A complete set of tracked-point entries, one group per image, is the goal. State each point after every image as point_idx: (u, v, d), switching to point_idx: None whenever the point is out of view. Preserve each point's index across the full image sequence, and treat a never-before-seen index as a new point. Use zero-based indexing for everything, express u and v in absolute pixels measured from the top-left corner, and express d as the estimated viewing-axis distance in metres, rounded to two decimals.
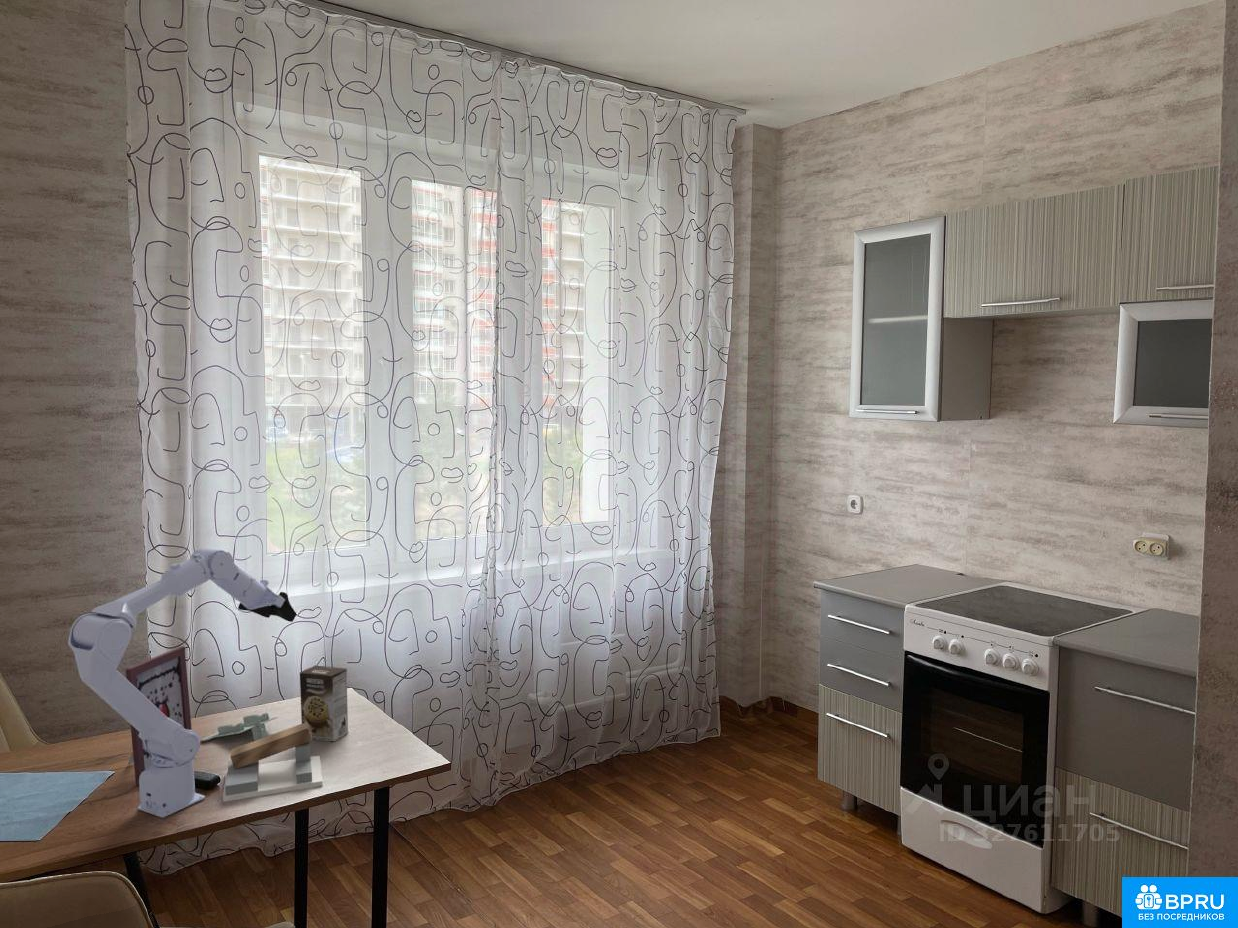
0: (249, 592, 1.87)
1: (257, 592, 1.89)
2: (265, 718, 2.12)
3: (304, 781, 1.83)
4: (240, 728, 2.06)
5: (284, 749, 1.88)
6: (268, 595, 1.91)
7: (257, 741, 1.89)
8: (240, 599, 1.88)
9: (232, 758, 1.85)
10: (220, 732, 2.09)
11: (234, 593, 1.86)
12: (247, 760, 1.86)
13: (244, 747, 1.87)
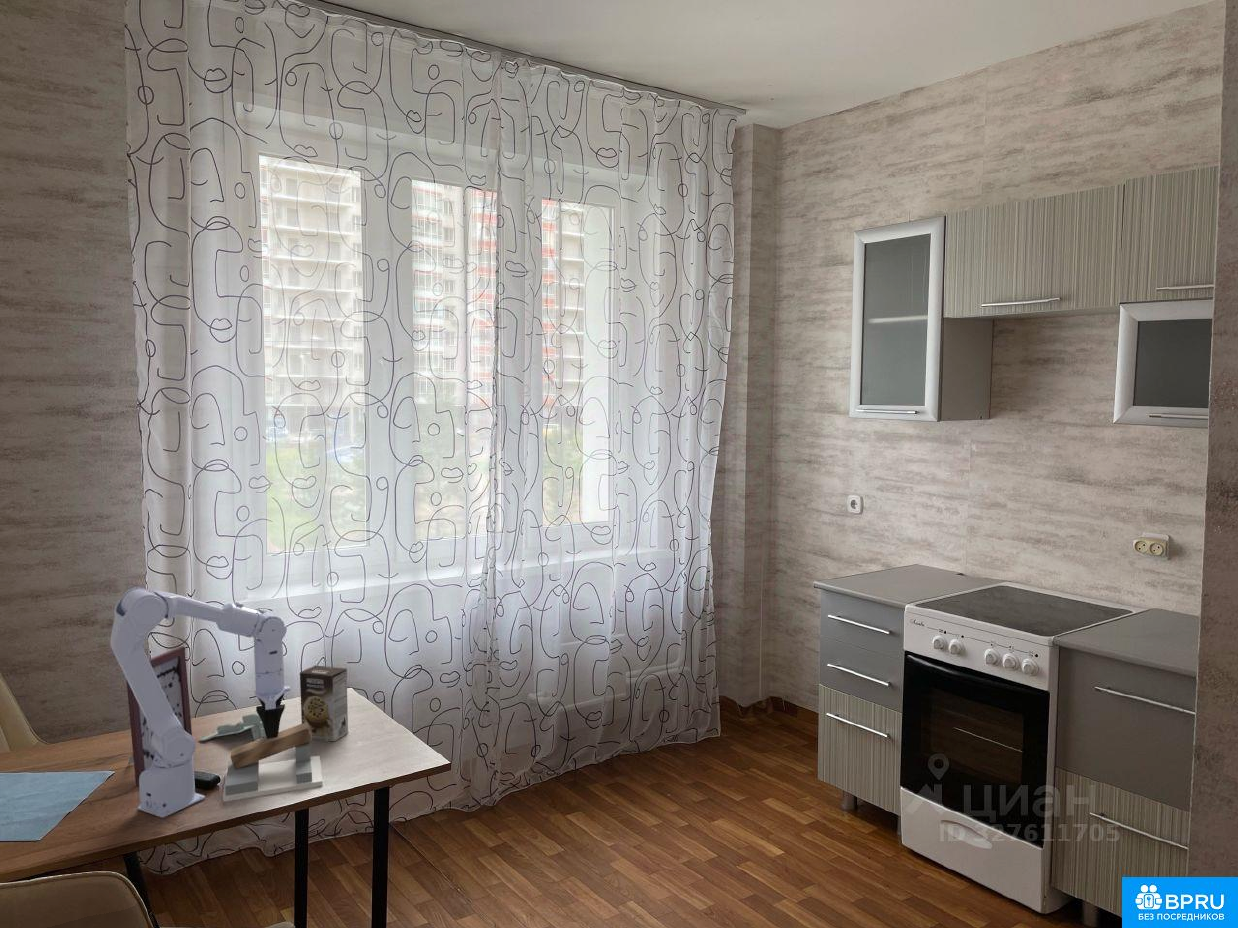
0: (264, 677, 1.85)
1: (269, 684, 1.86)
2: None
3: (304, 781, 1.83)
4: (240, 727, 2.06)
5: (284, 749, 1.88)
6: (273, 696, 1.85)
7: (257, 741, 1.89)
8: (255, 677, 1.86)
9: (232, 758, 1.85)
10: (219, 732, 2.10)
11: (258, 667, 1.85)
12: (247, 760, 1.86)
13: (244, 747, 1.87)
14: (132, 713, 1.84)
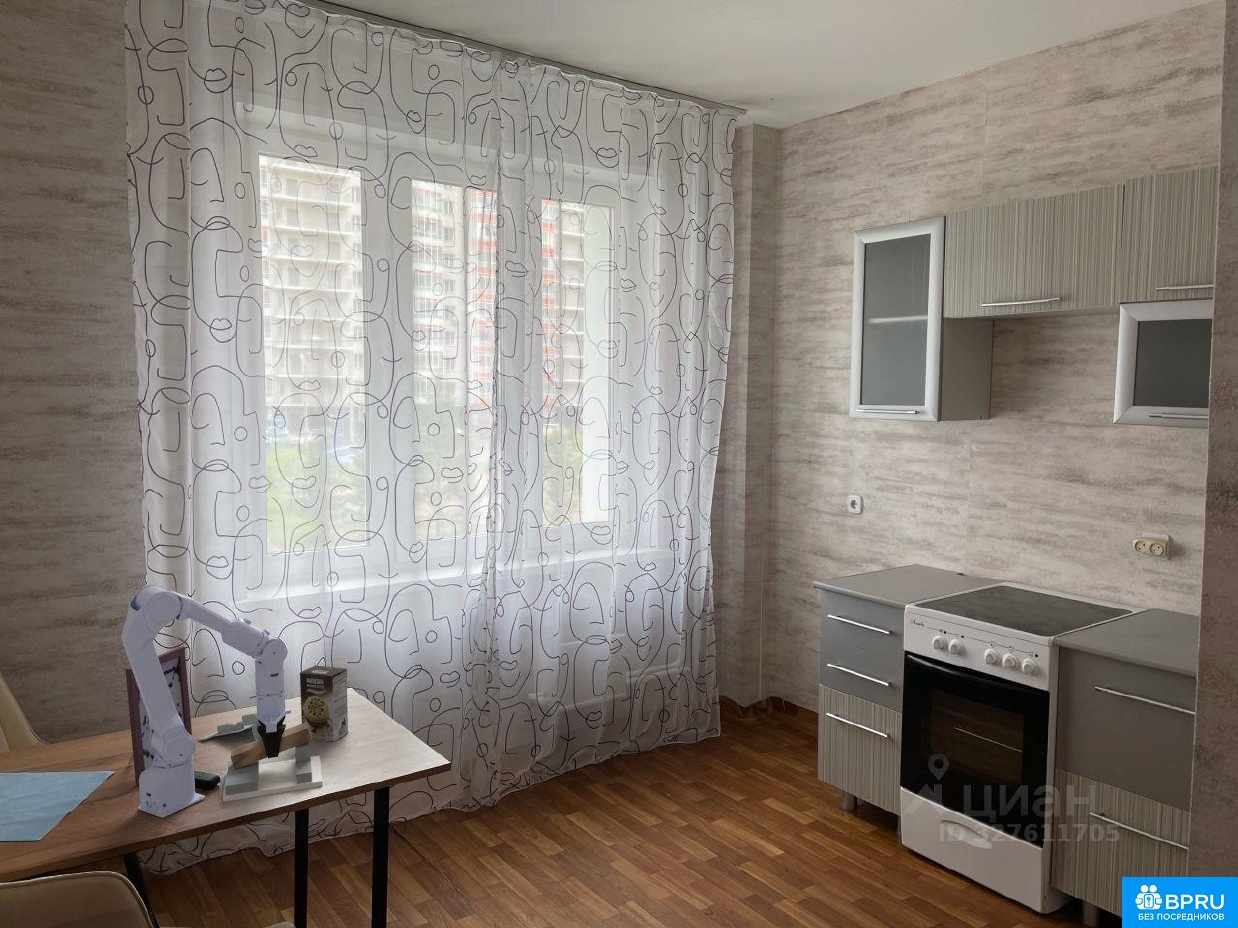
0: (265, 699, 1.86)
1: (270, 707, 1.86)
2: None
3: (304, 781, 1.83)
4: (240, 727, 2.07)
5: (284, 749, 1.88)
6: None
7: (257, 741, 1.89)
8: (256, 699, 1.87)
9: (232, 758, 1.85)
10: (219, 731, 2.10)
11: (259, 689, 1.86)
12: (247, 760, 1.86)
13: (244, 747, 1.87)
14: (132, 713, 1.84)
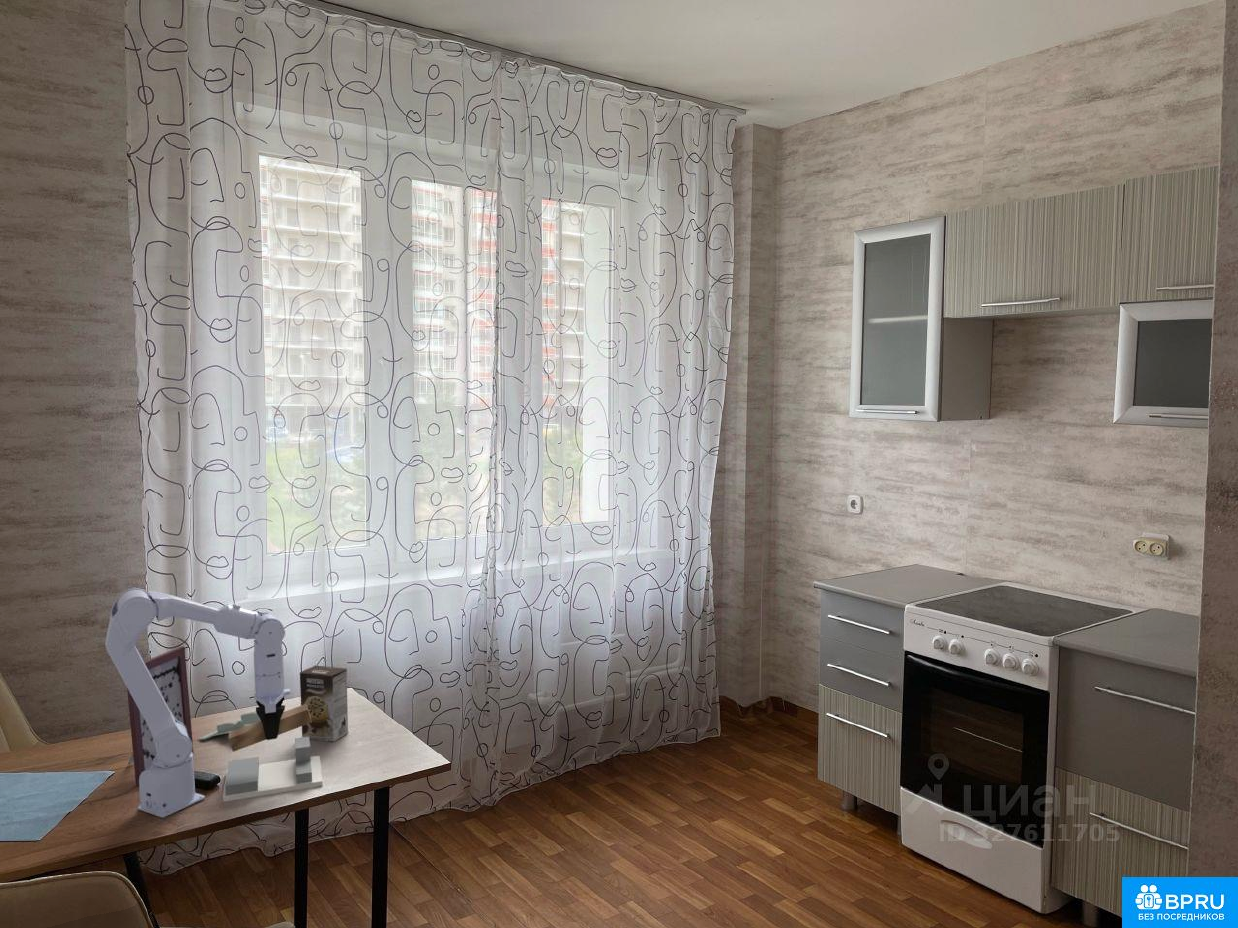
0: (264, 680, 1.82)
1: (269, 687, 1.82)
2: None
3: (304, 781, 1.83)
4: (241, 725, 2.08)
5: (283, 731, 1.85)
6: (273, 699, 1.82)
7: (256, 723, 1.86)
8: (255, 680, 1.83)
9: (230, 740, 1.81)
10: (219, 730, 2.11)
11: (256, 669, 1.82)
12: (245, 742, 1.82)
13: (242, 729, 1.84)
14: (132, 713, 1.84)
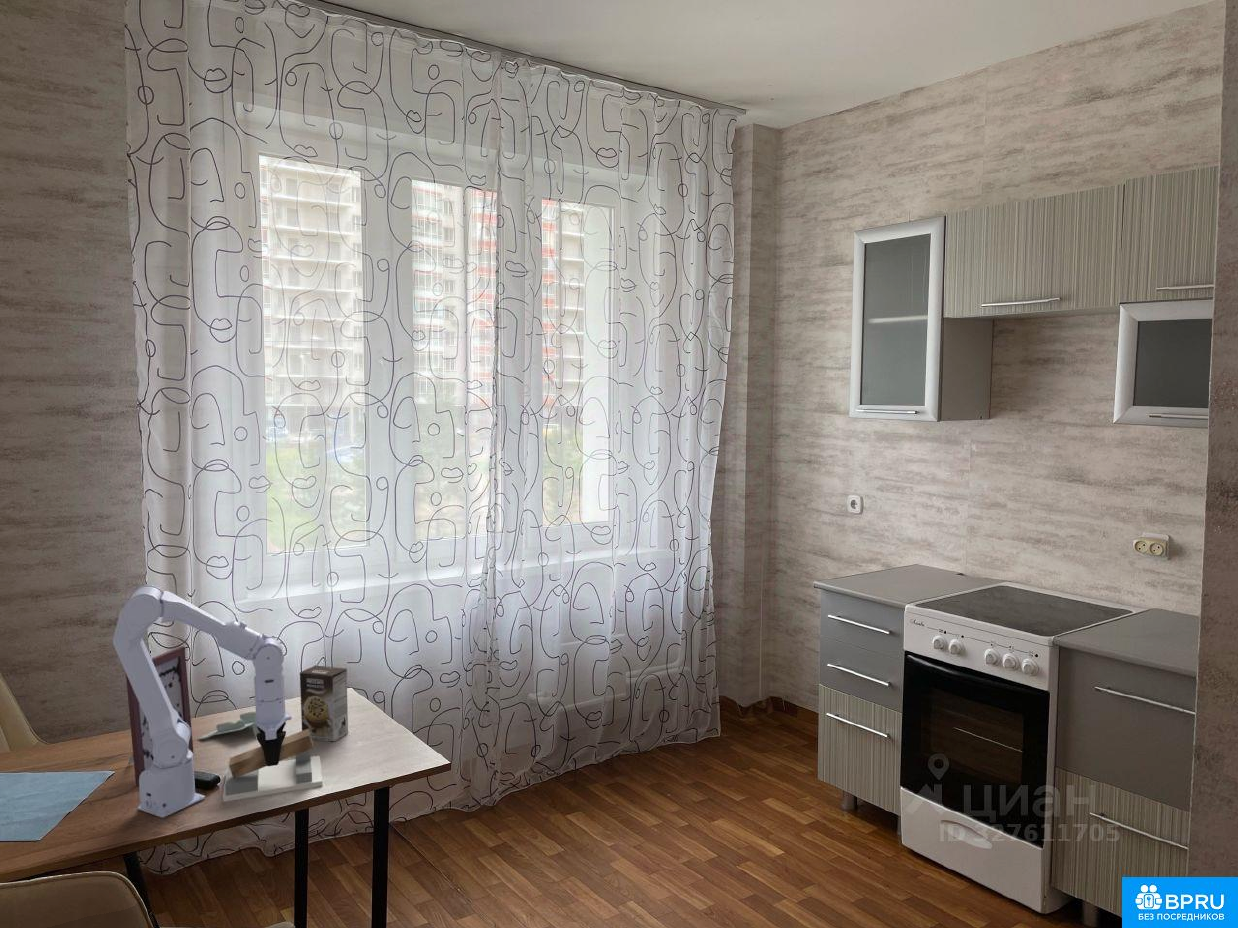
0: (264, 705, 1.79)
1: (270, 713, 1.80)
2: None
3: (304, 781, 1.83)
4: (241, 725, 2.08)
5: (284, 757, 1.82)
6: (274, 725, 1.80)
7: (257, 749, 1.83)
8: (255, 705, 1.81)
9: (231, 767, 1.79)
10: (219, 730, 2.11)
11: (256, 694, 1.80)
12: (246, 769, 1.80)
13: (243, 755, 1.81)
14: (132, 713, 1.84)
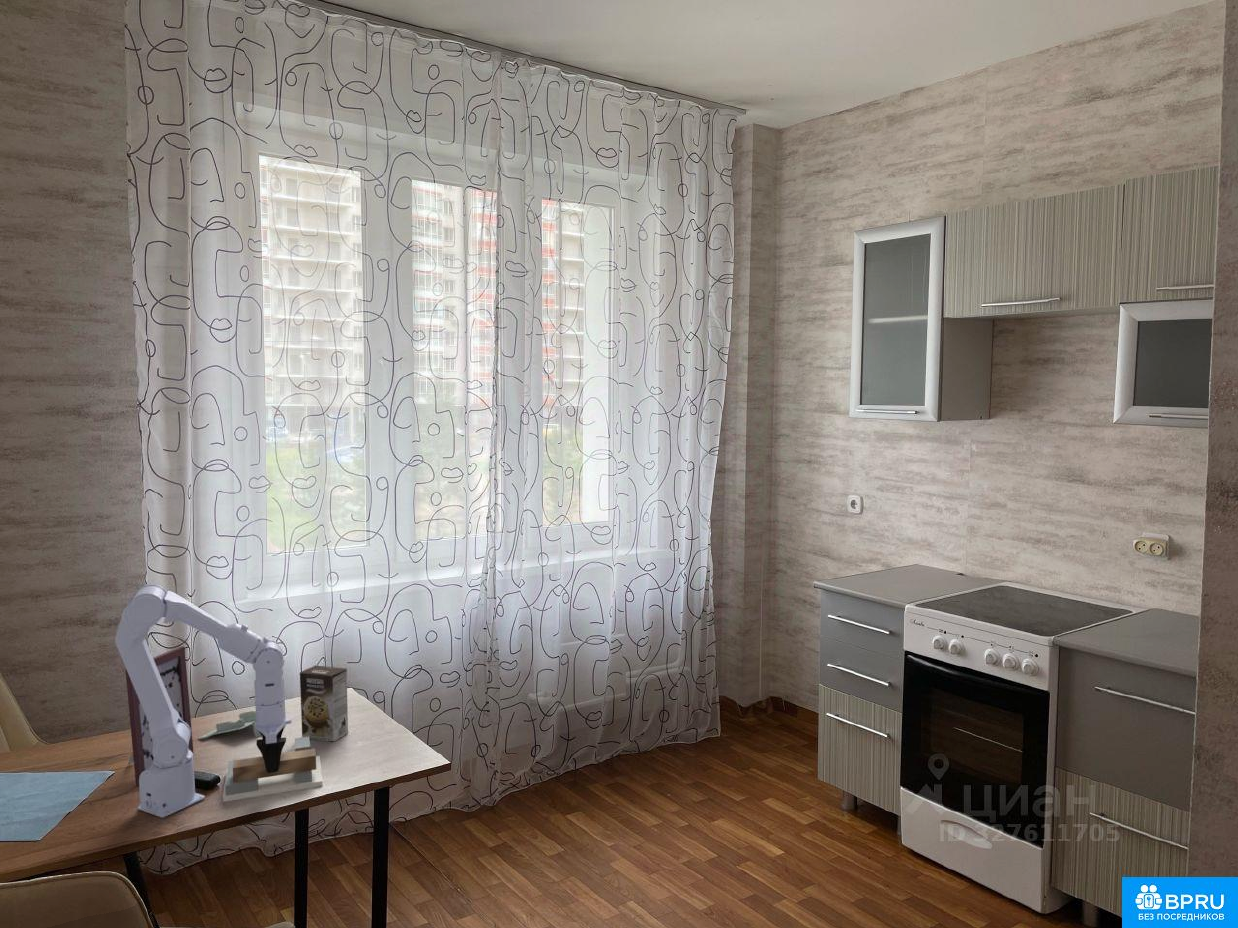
0: (265, 709, 1.79)
1: (270, 717, 1.80)
2: None
3: (304, 781, 1.83)
4: (241, 724, 2.09)
5: (287, 772, 1.83)
6: (274, 729, 1.80)
7: (261, 758, 1.84)
8: (256, 709, 1.81)
9: (234, 770, 1.79)
10: (219, 729, 2.11)
11: (256, 698, 1.80)
12: (248, 775, 1.80)
13: (247, 761, 1.82)
14: (132, 713, 1.84)
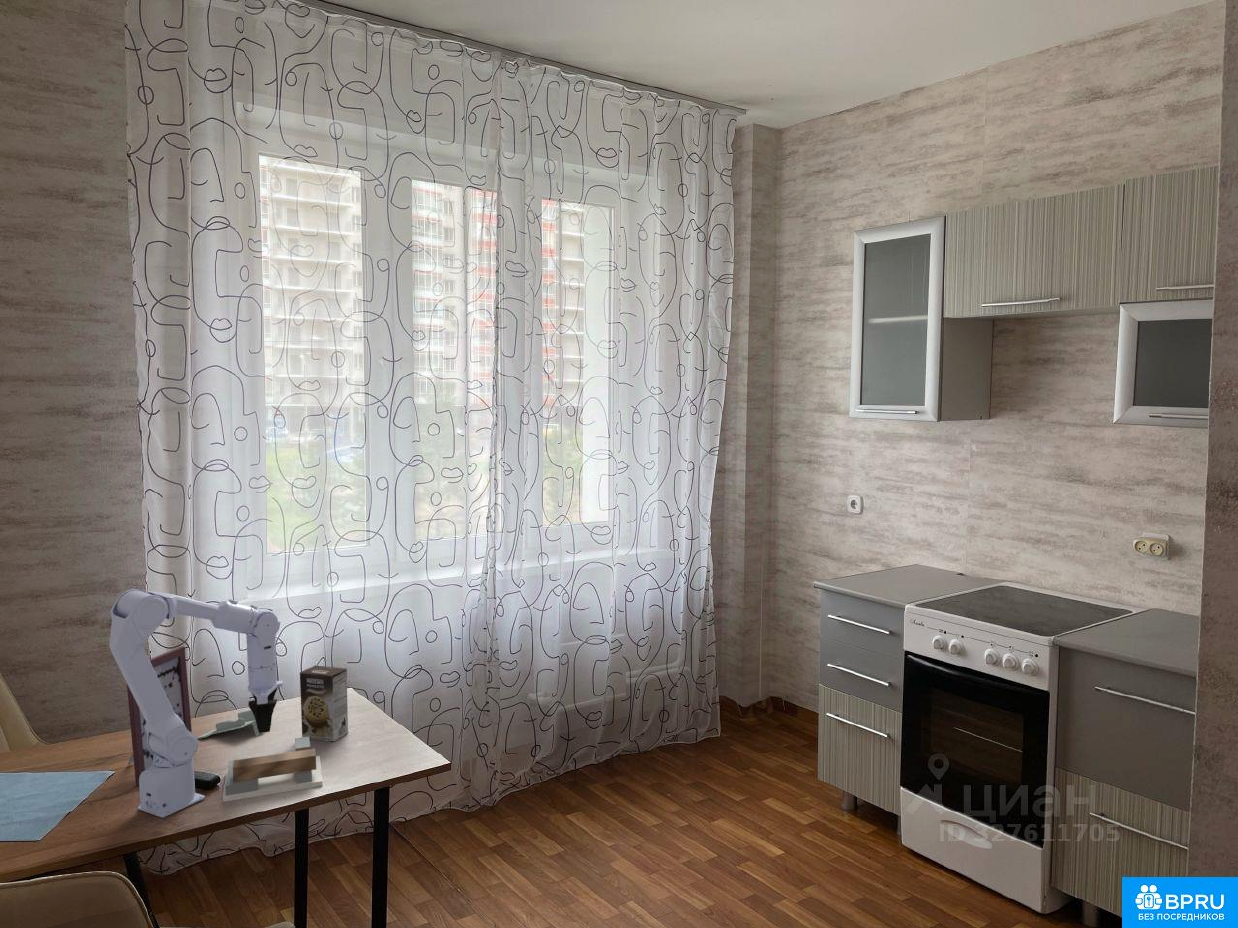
0: (256, 672, 1.87)
1: (262, 679, 1.87)
2: None
3: (304, 781, 1.83)
4: (241, 723, 2.09)
5: (287, 772, 1.83)
6: (266, 690, 1.87)
7: (261, 758, 1.84)
8: (248, 672, 1.88)
9: (234, 770, 1.79)
10: (218, 728, 2.12)
11: (253, 662, 1.87)
12: (248, 775, 1.80)
13: (247, 761, 1.82)
14: (132, 713, 1.84)
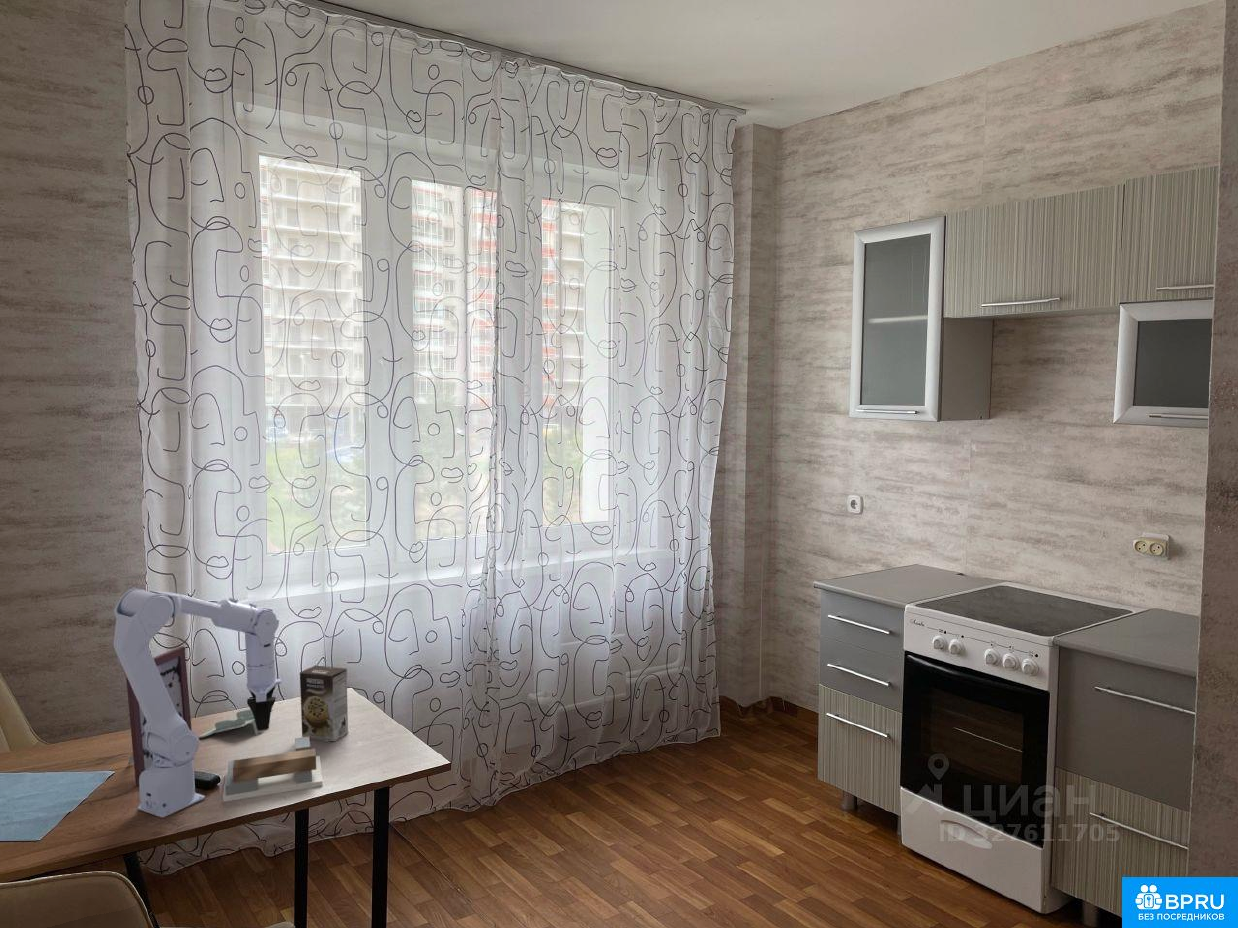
0: (255, 670, 1.89)
1: (260, 677, 1.89)
2: None
3: (304, 781, 1.83)
4: (241, 722, 2.10)
5: (287, 772, 1.83)
6: None
7: (261, 758, 1.84)
8: (247, 670, 1.90)
9: (234, 770, 1.79)
10: (218, 728, 2.12)
11: (252, 660, 1.88)
12: (248, 775, 1.80)
13: (247, 761, 1.82)
14: (132, 713, 1.84)
